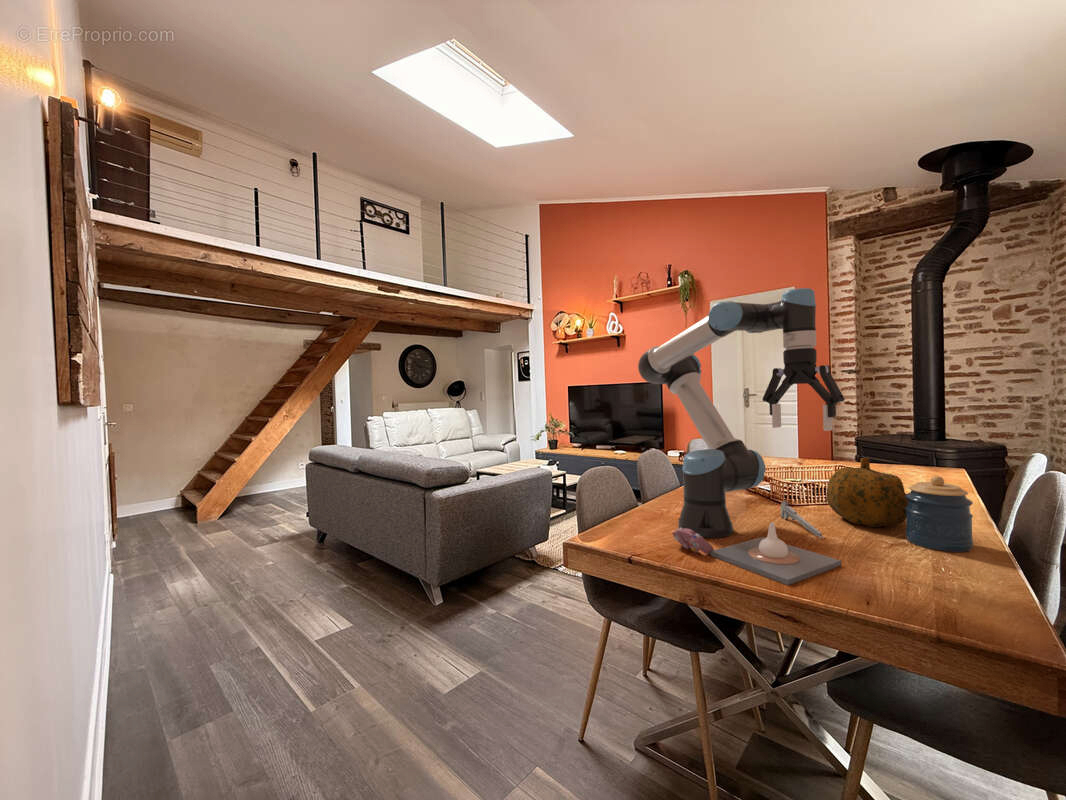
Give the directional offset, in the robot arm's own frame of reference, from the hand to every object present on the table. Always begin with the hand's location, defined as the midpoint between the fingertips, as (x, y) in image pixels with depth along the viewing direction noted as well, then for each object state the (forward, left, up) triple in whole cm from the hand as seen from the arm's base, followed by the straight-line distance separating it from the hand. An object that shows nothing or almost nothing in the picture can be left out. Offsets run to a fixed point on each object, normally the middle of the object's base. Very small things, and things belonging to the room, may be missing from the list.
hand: (801, 428), depth 118 cm
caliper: (-9, +13, -31) cm, 35 cm away
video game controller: (-12, -28, -31) cm, 43 cm away
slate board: (+3, -17, -31) cm, 35 cm away
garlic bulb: (+3, -17, -29) cm, 34 cm away
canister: (+18, +28, -31) cm, 45 cm away
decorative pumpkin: (-1, +34, -31) cm, 46 cm away
